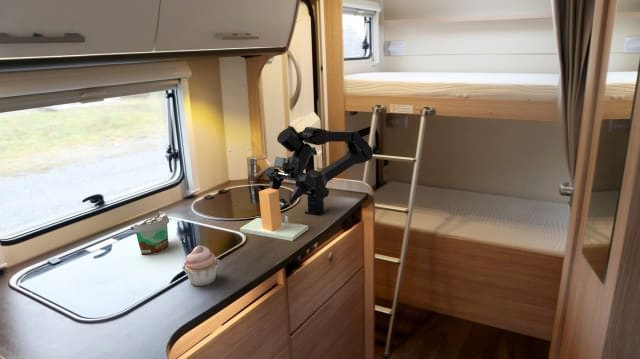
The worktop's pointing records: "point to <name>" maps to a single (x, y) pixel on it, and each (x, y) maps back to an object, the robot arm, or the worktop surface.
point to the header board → (285, 232)
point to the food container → (153, 234)
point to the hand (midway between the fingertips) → (279, 200)
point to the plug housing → (270, 209)
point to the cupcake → (201, 266)
